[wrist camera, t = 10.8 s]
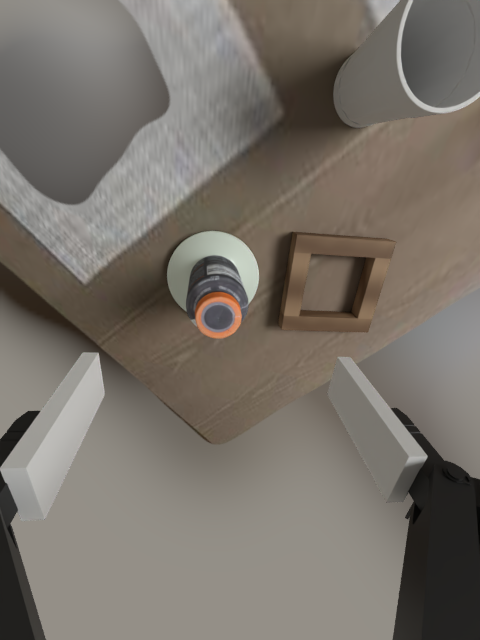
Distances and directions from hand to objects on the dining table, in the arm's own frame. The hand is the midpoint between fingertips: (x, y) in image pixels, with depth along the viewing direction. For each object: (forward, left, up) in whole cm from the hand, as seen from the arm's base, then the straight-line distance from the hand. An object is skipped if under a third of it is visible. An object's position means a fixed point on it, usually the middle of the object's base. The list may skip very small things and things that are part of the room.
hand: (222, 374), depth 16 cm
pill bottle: (+1, 0, -20) cm, 20 cm away
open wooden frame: (+1, +15, -21) cm, 26 cm away
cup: (-19, +14, -21) cm, 32 cm away
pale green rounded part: (+1, 0, -21) cm, 21 cm away
